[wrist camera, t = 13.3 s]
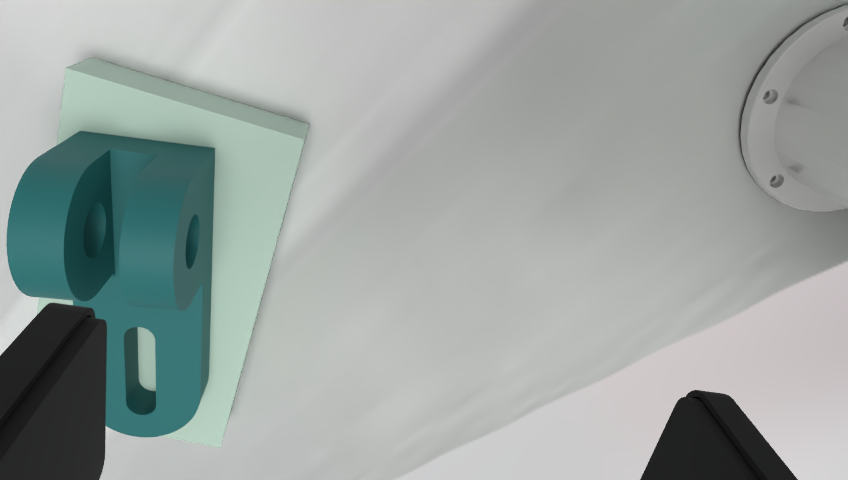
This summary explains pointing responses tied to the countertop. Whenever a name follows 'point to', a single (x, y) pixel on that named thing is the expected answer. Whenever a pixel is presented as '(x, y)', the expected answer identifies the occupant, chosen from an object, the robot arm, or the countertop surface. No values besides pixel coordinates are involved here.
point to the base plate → (233, 204)
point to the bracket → (126, 261)
